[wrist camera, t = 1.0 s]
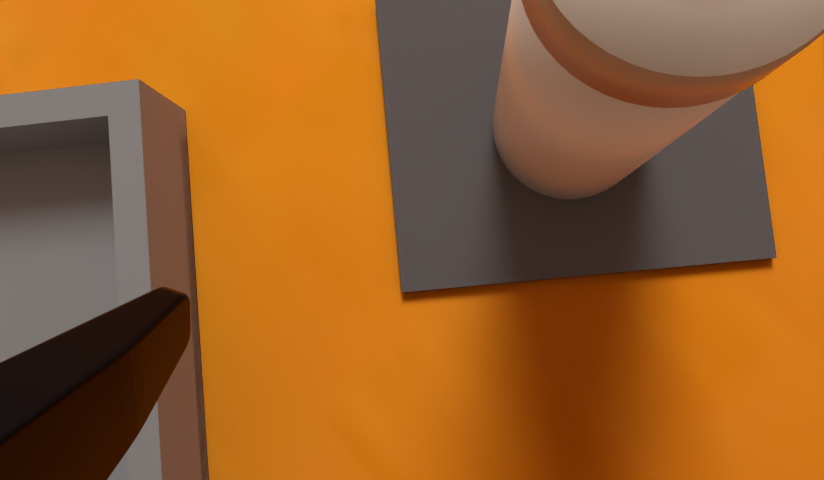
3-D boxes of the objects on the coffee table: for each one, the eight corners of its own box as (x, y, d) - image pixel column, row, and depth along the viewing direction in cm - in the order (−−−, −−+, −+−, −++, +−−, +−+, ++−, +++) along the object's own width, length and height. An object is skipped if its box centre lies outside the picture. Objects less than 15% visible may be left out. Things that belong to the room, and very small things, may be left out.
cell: (656, 192, 23) (944, 37, 9) (499, 208, 23) (550, 80, 9) (637, 40, 23) (885, -324, 10) (483, 57, 23) (510, -270, 10)
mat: (772, 258, 22) (776, 257, 22) (402, 292, 23) (401, 292, 23) (731, -39, 23) (735, -44, 23) (376, 3, 24) (375, 0, 24)
